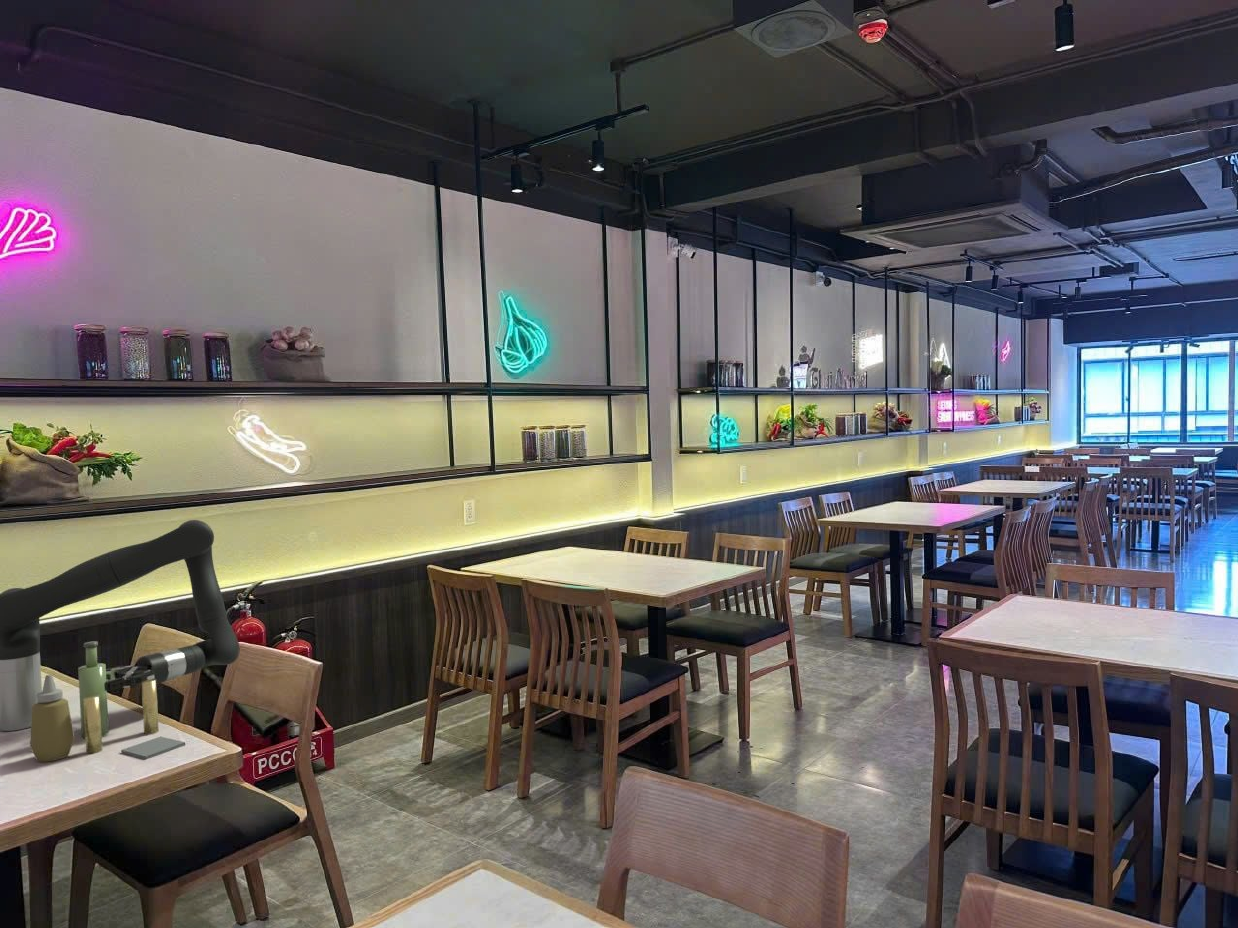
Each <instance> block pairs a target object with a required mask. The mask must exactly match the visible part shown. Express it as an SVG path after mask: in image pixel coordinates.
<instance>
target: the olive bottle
mask: <svg viewBox="0 0 1238 928" xmlns="http://www.w3.org/2000/svg"><path fill="white" fill-rule="evenodd" d="M98 646H99V642H98V641H97V640H96V641H95V640H94V641H85V642H84V643H83V648H85V665H82V666H79V667H78V668H77V670H78V671H77V672H78V690H79V691H78V693H79V709H80V710H79V713H80V729H81V730H80V733H81V738H82V739H86V738H85V719H84V701H83V699H84V698H85V697H88V696H94V695H98V696H99V697H100V716H101V734H102V736H105V735H107V734H108V733H109V732H110V730H109V729H110V728H109V710H108V709H109V708H108V707H109V706H108V691H105V687H104V683H105V682H106V677H107V675H106V669H107V668H106V663H101V662H100V663H99V662H98Z"/></svg>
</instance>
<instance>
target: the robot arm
mask: <svg viewBox="0 0 1238 928" xmlns="http://www.w3.org/2000/svg"><path fill="white" fill-rule="evenodd" d="M214 540H215V535H214V531H213V529H212V528H211V527H210V525H209V524H207V523H206V522H205V521H202V520H199V519H191V520H190V519H189V520H187V521H185V522H183V523H181V524H180V525H179V526H178V527H177V528H175V529H172V530H171V531H169V532H167V533H165V534H163V535H159V536H158V537H157V538H154V539H152V540H147V541H145V542H142V543H137V544H131V545H129V546H124V547H120V548H118V549H114V550H110V551H108V552H105V553H103V554H100V555H98V556H95V557H93V558H91V559H88V560H86V561H83V562H81V563H79V564H77V565H75V566H73V567H71V568H69V569H68V570H66V571H64V572H62V573H61V574H59V575H57V576H55V577H53V578H51V579H49V580H47V581H44V582H40V583H38V584H35V585H32V586H29V587H26V588H23V587H13V588H9V589H6V590H4V591H1V593H0V731H1V732H12V731H18V730H19V731H20V730H24V729H28V728H31V721H32V707H33V706H34V705H35V704H36V703H38V702H37V694H38V693H39V692H42V691H43V685H42V684H43V683H42V668H41V666H42V665H41V654H40V653H41V652H40V650H41V649H40V644H41V643H40V642H41V639H40V638H41V628H40V618H42V617H44V616H46V615H48V614H50V613H52V612H55V611H57V610H59V609H62V608H64V607H67V606H70V605H72V604H75V603H76V604H77V603H79V602H82V601H86V600H88V599H91V598H94V597H97V596H99V595H102V594H105V593H108V592H110V591H111V592H112V591H113V590H115V589H118V588H120V587H123V586H125V585H127V584H130V583H132V582H134V581H136V580H138V579H141V578H143V577H144V576H147V575H149V574H150V573H152V572H154V571H156V570H158V569H160V568H162V567H165V566H167V565H170V564H173V563H177V562H180V561H183V560H184V562H185V565H186V567H187V571H188V576H189V580H190V581H189V582H190V586H191V593H192V599H193V604H194V605H193V607H194V611H195V614H196V618H197V623H198V628H199V629H200V631H201V632H203V633H206V634H207V635H208V636H209V638H208V639H205V640H202V641H199V642H197V643H194V644H192V645H187V646H183V647H179V648H178V647H177V648H174V649H168V650H167V649H166V650H163V651H162V650H161V651H159V652H155V653H151V654H146V655H143V656H140V657H138V658H137V660H136V661H135V664H134V666H132V665H126V666H124V665H118V666H115V667H110V668H106V682H105V683H104V687H105V691H107V692H111V691H115V690H118V689H122V688H123V689H127V688H130V689H135V688H138V687H142V684H141V682H143V681H146V680H156V685H158V684H162V683H165V682H168V681H169V682H170V681H172V680H174V679H175V680H176V679H177V678H179V677H183V676H186V675H190V674H193V673H196V672H198V671H200V670H202V668H205V667H210V666H228V665H231V664H233V663H235V662H236V661H237V659H238V658H239V655H240V643H239V640H238V637H237V635H236V633H235V631H234V629H233V627H232V625H231V623H230V622H229V621H228V615H227V611H226V607H225V602H224V598H223V594H222V591H221V588H220V585H219V582H218V578H217V575H216V570H215V567H214V566H215V565H214V560H213V547H212V546H213V543H214Z"/></svg>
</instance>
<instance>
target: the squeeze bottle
mask: <svg viewBox="0 0 1238 928" xmlns="http://www.w3.org/2000/svg"><path fill="white" fill-rule="evenodd" d="M37 702H38V703H36V704H35V705H34V706H33V707H32V721H31V727H30V736H29V737H30V740H29V741H30V742H29V746H30V749H31V751H32V753H33V756H34V757H35V759H36V761H37V762H43V763H44V762H45V763H46V762H52V761H57V760H61V759H64V758H65V757H67V756H69V754H70V752H71V749H72V746H73V743H74V740H75V733H74V728H73V723H72V722H73V721H72V716H71V711H70V707H69V700H68V699H66V698H64V697H63V689H61V688H59V689H58V688H57V686H56V683H55V681H54V677H53V674H47V675H45V676H44V681H43V685H42V692H39V693H38V694H37Z"/></svg>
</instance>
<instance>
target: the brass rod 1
mask: <svg viewBox="0 0 1238 928" xmlns="http://www.w3.org/2000/svg"><path fill="white" fill-rule="evenodd" d="M83 701H84V719H85V738H84V739H85V753H86V754H89V755H90V754H93V755H94V754H97V753H99V752H101V751H103V739H102V738H103V737H102V734H101V716H100V697H99V696H98V695H94V696H88V697H85V698H84V699H83Z"/></svg>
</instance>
